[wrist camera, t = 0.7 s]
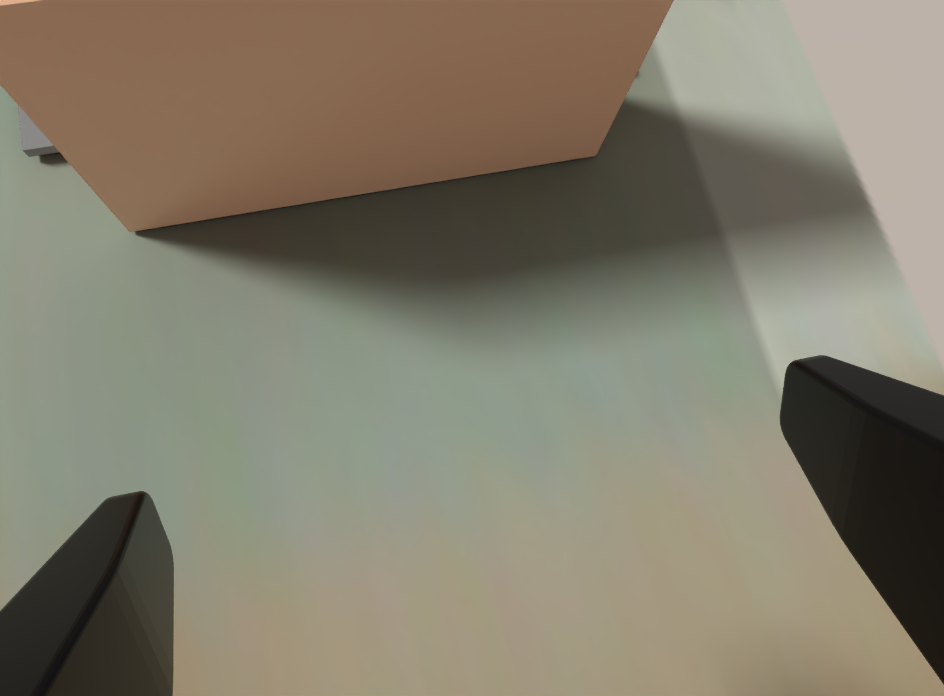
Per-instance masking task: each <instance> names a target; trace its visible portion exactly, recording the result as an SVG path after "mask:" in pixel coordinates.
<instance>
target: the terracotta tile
mask: <svg viewBox="0 0 944 696" xmlns="http://www.w3.org/2000/svg"><path fill="white" fill-rule="evenodd" d="M673 1H674V0H0V85H1V86H2V87H3V88H4V89H5V90H6V92H7V93H8V94H9V95H10V96H11V97H12V98H13V100H14V101H15V102H16V103H17V104H18V105H19V106H20V108H21V109H22V110H23V111H24V112H25V113H26V114H27V116H28V117H29V118H30V119H31V120H32V121H33V122H34V124H35V125H36V126H37V127H38V128H39V129H40V130H41V132H42V133H43V134H44V135H45V136H46V137H47V138H48V140H49V141H50V142H51V143H52V144H53V145H54V146H55V148H56V149H57V150H58V151H59V152H60V153H61V154H62V156H63V157H64V158H65V159H66V160H67V161H68V162H69V164H70V165H71V166H72V167H73V168H74V169H75V170H76V172H77V173H78V174H79V175H80V176H81V177H82V178H83V180H84V181H85V182H86V183H87V184H88V185H89V186H90V187H91V189H92V190H93V191H94V192H95V193H96V194H97V195H98V197H99V198H100V199H101V200H102V201H103V202H104V203H105V205H106V206H107V207H108V208H109V209H110V210H111V211H112V213H113V214H114V215H115V216H116V217H117V218H118V219H119V221H120V222H121V223H122V224H123V225H124V226H125V227H126V229H127V230H128V231H129V232H133V231H139V230H146V229H152V228H158V227H164V226H170V225H176V224H182V223H188V222H194V221H200V220H207V219H213V218H219V217H225V216H231V215H237V214H243V213H249V212H255V211H261V210H268V209H274V208H280V207H286V206H292V205H298V204H304V203H310V202H316V201H323V200H329V199H335V198H341V197H347V196H353V195H359V194H365V193H371V192H377V191H384V190H390V189H396V188H402V187H408V186H414V185H420V184H426V183H432V182H438V181H445V180H451V179H457V178H463V177H469V176H475V175H481V174H487V173H493V172H500V171H506V170H512V169H518V168H524V167H530V166H536V165H542V164H548V163H554V162H561V161H567V160H573V159H579V158H585V157H591V156H596V155H597V153H598V151H599V149H600V147H601V145H602V143H603V141H604V139H605V137H606V135H607V133H608V131H609V129H610V127H611V125H612V123H613V121H614V119H615V117H616V115H617V113H618V111H619V109H620V107H621V105H622V103H623V101H624V99H625V97H626V95H627V93H628V91H629V89H630V87H631V85H632V83H633V81H634V79H635V77H636V75H637V73H638V71H639V69H640V67H641V65H642V63H643V61H644V59H645V57H646V55H647V53H648V51H649V49H650V47H651V45H652V43H653V41H654V39H655V37H656V35H657V33H658V31H659V29H660V27H661V25H662V23H663V21H664V19H665V17H666V15H667V13H668V11H669V9H670V7H671V5H672V3H673Z"/></svg>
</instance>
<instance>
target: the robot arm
mask: <svg viewBox="0 0 944 696" xmlns="http://www.w3.org/2000/svg"><path fill="white" fill-rule="evenodd" d="M780 425H781V430H782V432H783V435H784V437H785V439H786V441H787V443H788V445H789V447H790V448H791V450H792V452H793V454H794V456H795V457H796V459H797V461H798V463H799V465H800V466H801V468H802V470H803V472H804V474H805V475H806V477H807V479H808V481H809V483H810V484H811V486H812V488H813V490H814V492H815V493H816V495H817V497H818V499H819V501H820V503H821V504H822V506H823V508H824V510H825V512H826V513H827V515H828V517H829V519H830V521H831V522H832V524H833V526H834V527H835V529H836V531H837V532H838V534H839V536H840V537H841V539H842V540H843V542H844V543H845V545H846V546H847V548H848V549H849V551H850V552H851V554H852V555H853V557H854V558H855V560H856V561H857V562H858V564H859V565H860V567H861V568H862V569H863V571H864V572H865V574H866V575H867V577H868V578H869V579H870V581H871V582H872V584H873V585H874V586H875V588H876V589H877V591H878V592H879V594H880V595H881V596H882V598H883V599H884V601H885V602H886V603H887V605H888V606H889V608H890V609H891V611H892V612H893V613H894V615H895V616H896V618H897V619H898V620H899V622H900V623H901V625H902V626H903V628H904V629H905V630H906V632H907V633H908V635H909V636H910V637H911V639H912V640H913V642H914V643H915V644H916V646H917V647H918V649H919V650H920V652H921V653H922V654H923V656H924V657H925V659H926V660H927V661H928V663H929V664H930V666H931V667H932V669H933V670H934V671H935V673H936V674H937V676H938V677H939V678H940V680H941V681H942V683H943V684H944V396H943V395H940V394H938V393H935V392H932V391H929V390H926V389H923V388H920V387H917V386H914V385H911V384H908V383H905V382H902V381H899V380H896V379H893V378H890V377H887V376H884V375H882V374H879V373H876V372H873V371H870V370H867V369H864V368H861V367H858V366H855V365H852V364H849V363H846V362H843V361H840V360H837V359H834V358H831V357H829V356H824V355H819V356H814V357H809V358H804V359H799V360H795V361H793V362H791V363H790V364H789V365H788V367H787V369H786V373H785V380H784V387H783V395H782V403H781V411H780ZM173 625H174V563H173V555H172V550H171V546H170V543H169V540H168V538H167V535H166V533H165V530H164V528H163V525H162V523H161V520H160V517H159V515H158V512H157V510H156V507H155V505H154V502H153V500H152V498H151V497H150V495H149V494H148V493H146V492H144V491H138V492H133V493H128V494H123V495H118V496H113V497H110V498H108V499H106V500H105V501H104V502H103V503H101V505H100V506H99V507H98V508H97V509H96V510H95V511H94V512H93V513H92V514H91V515H90V516H89V517H88V518H87V519H86V520H85V522H84V523H83V524H82V525H81V526H80V527H79V528H78V529H77V530H76V531H75V532H74V533H73V534H72V535H71V536H70V537H69V539H68V540H67V541H66V542H65V543H64V544H63V545H62V546H61V547H60V548H59V549H58V550H57V551H56V552H55V553H54V554H53V555H52V557H51V558H50V559H49V560H48V561H47V562H46V563H45V564H44V565H43V566H42V567H41V568H40V569H39V570H38V571H37V572H36V574H35V575H34V576H33V577H32V578H31V579H30V580H29V581H28V582H27V583H26V584H25V585H24V586H23V587H22V588H21V589H20V591H19V592H18V593H17V594H16V595H15V596H14V597H13V598H12V599H11V600H10V601H9V602H8V603H7V604H6V605H5V606H4V608H3V609H2V610H1V611H0V696H172V695H173Z"/></svg>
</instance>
